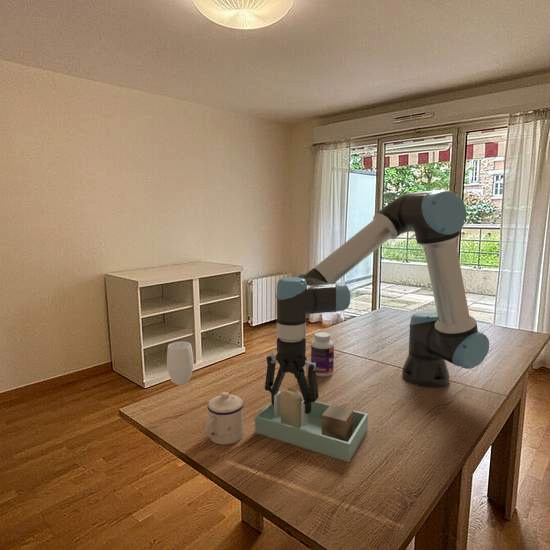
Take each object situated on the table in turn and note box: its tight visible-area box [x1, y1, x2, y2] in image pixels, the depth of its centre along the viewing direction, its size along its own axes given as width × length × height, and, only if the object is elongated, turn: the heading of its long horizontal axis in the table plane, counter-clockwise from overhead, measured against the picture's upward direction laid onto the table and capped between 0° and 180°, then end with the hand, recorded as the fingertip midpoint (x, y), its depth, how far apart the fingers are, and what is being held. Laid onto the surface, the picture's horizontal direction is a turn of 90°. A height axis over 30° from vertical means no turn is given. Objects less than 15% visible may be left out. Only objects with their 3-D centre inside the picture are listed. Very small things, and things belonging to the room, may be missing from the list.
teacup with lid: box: [203, 391, 244, 446], centre depth 98 cm, size 12×9×12 cm
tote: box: [254, 397, 369, 463], centre depth 100 cm, size 25×15×5 cm, turn 61°
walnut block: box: [322, 404, 354, 442], centre depth 97 cm, size 6×6×7 cm
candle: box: [281, 387, 303, 428], centre depth 103 cm, size 6×6×10 cm
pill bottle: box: [310, 331, 335, 378], centre depth 137 cm, size 8×8×14 cm
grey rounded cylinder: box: [166, 341, 195, 386], centre depth 109 cm, size 7×7×21 cm
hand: (290, 419), depth 103 cm, fingers open, 7 cm apart
